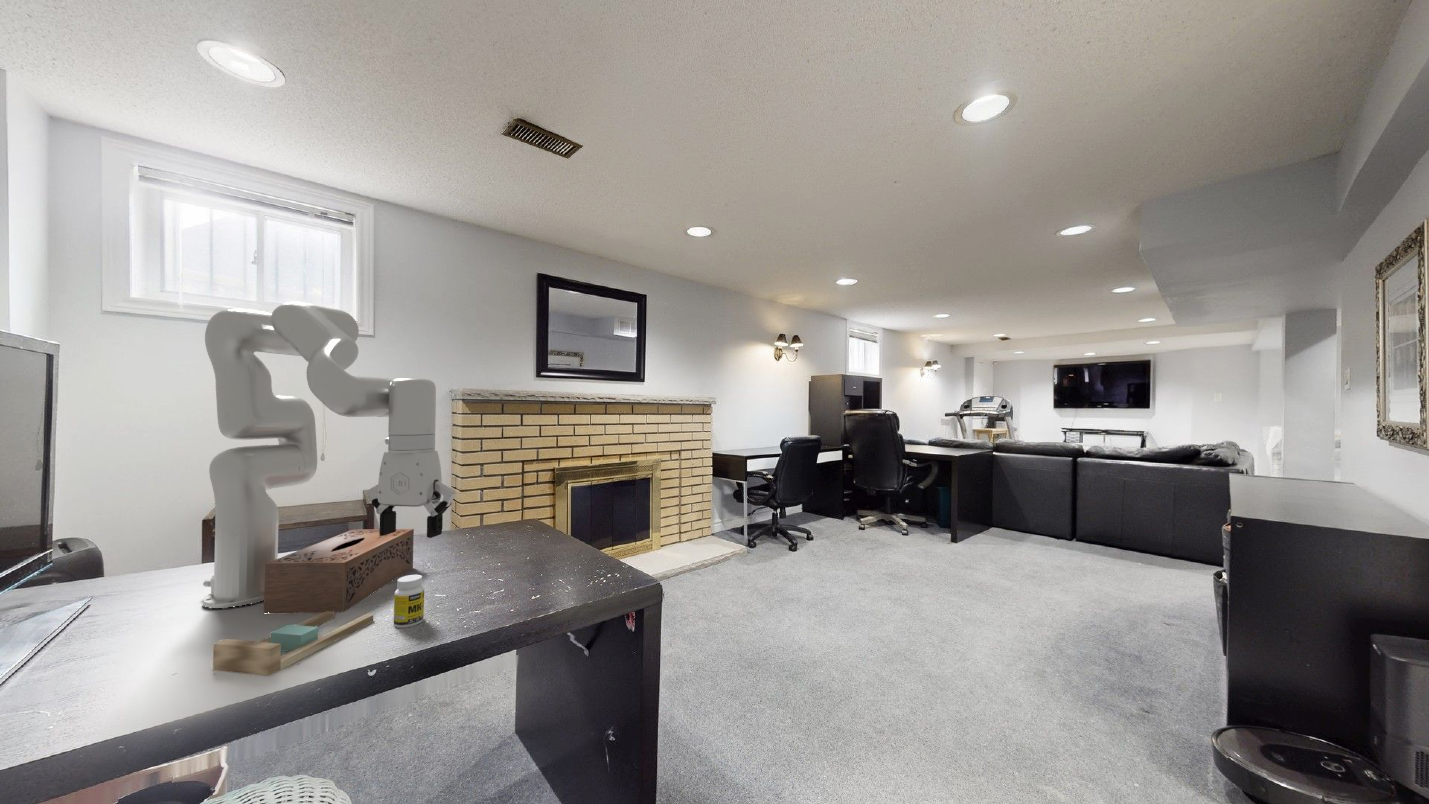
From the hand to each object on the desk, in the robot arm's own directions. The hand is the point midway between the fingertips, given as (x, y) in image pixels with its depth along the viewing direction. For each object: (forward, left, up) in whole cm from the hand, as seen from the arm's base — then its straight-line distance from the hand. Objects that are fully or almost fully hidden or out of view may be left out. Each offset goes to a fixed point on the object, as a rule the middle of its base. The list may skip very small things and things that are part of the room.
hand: (411, 534), depth 90 cm
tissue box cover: (-26, +13, -17) cm, 34 cm away
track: (-12, -9, -17) cm, 22 cm away
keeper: (-12, -11, -16) cm, 23 cm away
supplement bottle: (0, 0, -17) cm, 17 cm away
